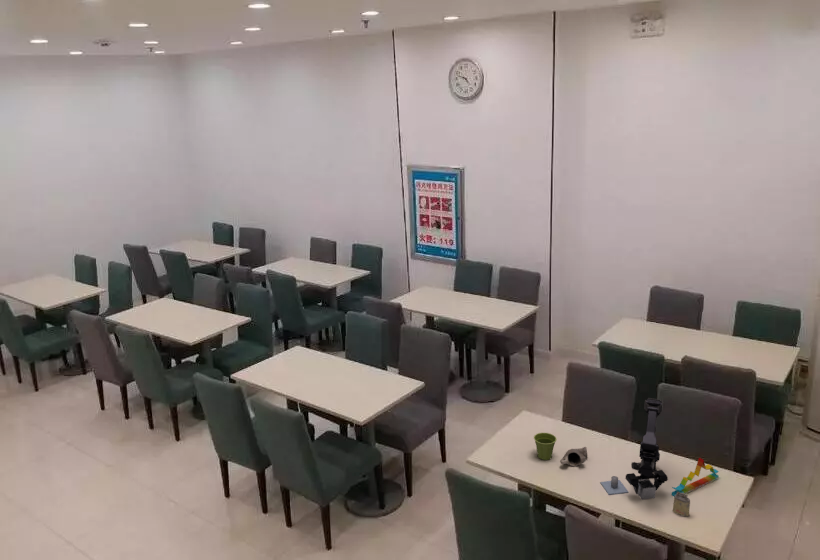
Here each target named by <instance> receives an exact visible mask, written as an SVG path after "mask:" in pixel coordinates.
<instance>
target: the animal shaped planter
mask: <svg viewBox="0 0 820 560" xmlns="http://www.w3.org/2000/svg"><path fill="white" fill-rule="evenodd" d="M586 459H588V448H587V447H586V446H583V447H582V448H571V449H568V450H567V451H566V452H565V454H564V456H562V458H561V459H560V461H559V463H560V464H562V465H568V466H569V467H577V466H580V465H583V464H584V463H585V462H586Z"/></svg>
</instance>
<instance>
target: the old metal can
mask: <svg viewBox="0 0 820 560" xmlns="http://www.w3.org/2000/svg"><path fill="white" fill-rule="evenodd" d="M672 504H673V506H672V512H673V513H674V514H677V515H679V516H683V517H689V515H690V506H691V499H690V498H689V497H688V495H687V494H684V493H680V492H677V493H676V495H675V496H673V503H672Z"/></svg>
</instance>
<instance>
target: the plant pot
mask: <svg viewBox="0 0 820 560" xmlns="http://www.w3.org/2000/svg"><path fill="white" fill-rule="evenodd" d="M557 439H558V438H557V437H556V435H554V434H552V433H549V432H538V433H536V434H534V436H533V440H534V441H535V447H536V453H537V454H536V455H537V458H538V459H540V460H543V461H549V460H551V459H552V457H553V451H554V448H555V444H556V442H557Z"/></svg>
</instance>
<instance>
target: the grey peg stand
mask: <svg viewBox="0 0 820 560" xmlns="http://www.w3.org/2000/svg"><path fill="white" fill-rule="evenodd" d="M599 483H600V485H601V486H602V488H603V489H604V490H605V492H606V493H607V494H608V496H612V495H622V494H628V493H629V492H630V491H629V490H628V489H627V488H626V486H625V485H624V484H623V483H622V481H621V480H620V479H619V477H618V476H616V475H612V476H611V479H610V480H605V481H600V482H599Z"/></svg>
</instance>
